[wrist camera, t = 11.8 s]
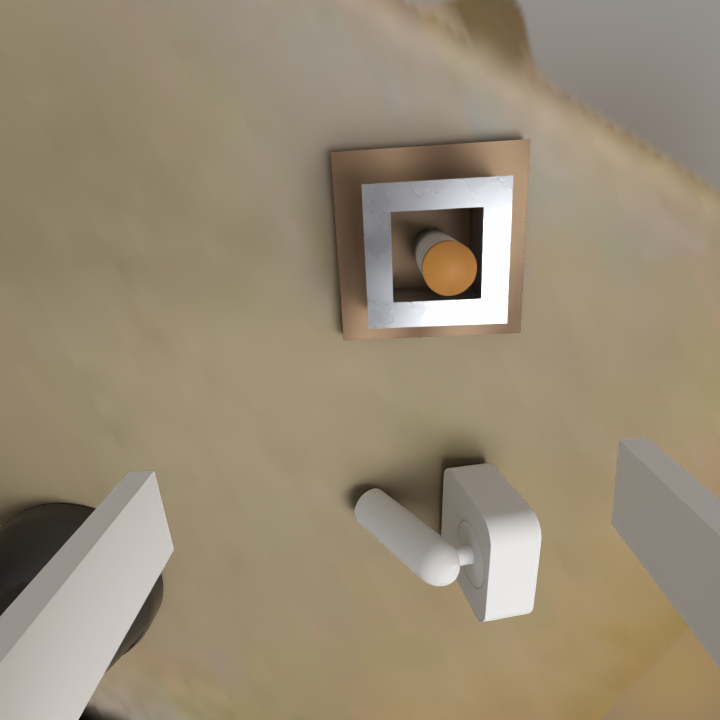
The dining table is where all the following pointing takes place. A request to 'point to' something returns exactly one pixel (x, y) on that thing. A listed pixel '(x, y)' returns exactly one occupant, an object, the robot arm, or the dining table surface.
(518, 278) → the keeper
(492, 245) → the link
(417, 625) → the dining table surface
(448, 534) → the wall hook
